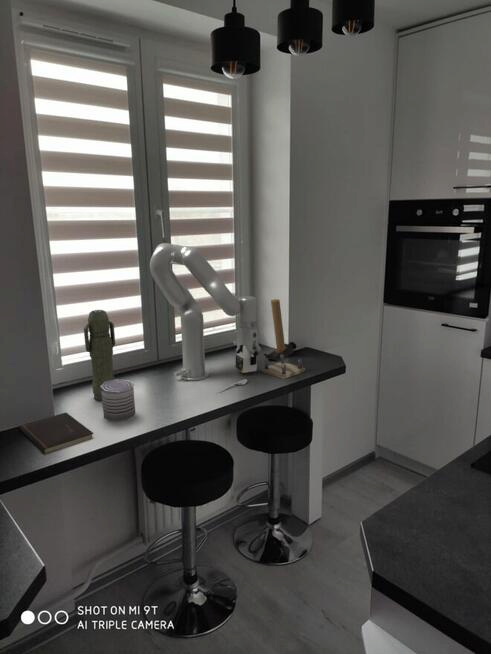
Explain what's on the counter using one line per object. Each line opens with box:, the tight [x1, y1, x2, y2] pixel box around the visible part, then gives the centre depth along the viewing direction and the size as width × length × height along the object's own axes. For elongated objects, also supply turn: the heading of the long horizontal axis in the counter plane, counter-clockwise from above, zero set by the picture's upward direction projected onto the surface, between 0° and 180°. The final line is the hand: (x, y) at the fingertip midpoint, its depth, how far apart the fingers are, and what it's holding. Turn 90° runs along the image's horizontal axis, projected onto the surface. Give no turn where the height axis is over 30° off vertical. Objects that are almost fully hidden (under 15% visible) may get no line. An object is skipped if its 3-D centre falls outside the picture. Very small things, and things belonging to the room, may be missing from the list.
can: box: [100, 378, 136, 423], centre depth 176 cm, size 11×11×12 cm
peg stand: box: [260, 355, 306, 380], centre depth 221 cm, size 14×14×6 cm
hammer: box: [263, 298, 297, 362], centre depth 239 cm, size 20×5×30 cm, turn 139°
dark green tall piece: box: [83, 309, 116, 402], centre depth 191 cm, size 9×12×35 cm
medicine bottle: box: [235, 345, 258, 374], centre depth 219 cm, size 7×7×12 cm
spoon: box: [214, 378, 248, 395], centre depth 203 cm, size 4×21×2 cm, turn 135°
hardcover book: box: [20, 412, 94, 455], centre depth 164 cm, size 16×23×2 cm
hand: (246, 362), depth 220 cm, fingers closed on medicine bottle, 8 cm apart
